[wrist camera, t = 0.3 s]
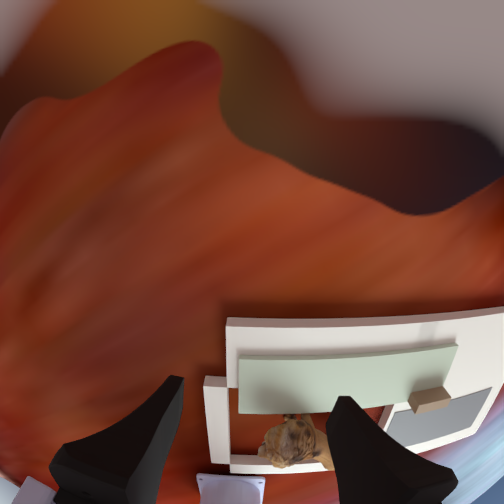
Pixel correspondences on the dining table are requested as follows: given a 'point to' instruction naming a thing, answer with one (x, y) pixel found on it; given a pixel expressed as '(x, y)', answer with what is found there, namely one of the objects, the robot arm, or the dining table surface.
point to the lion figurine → (295, 443)
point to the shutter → (345, 380)
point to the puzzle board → (366, 341)
